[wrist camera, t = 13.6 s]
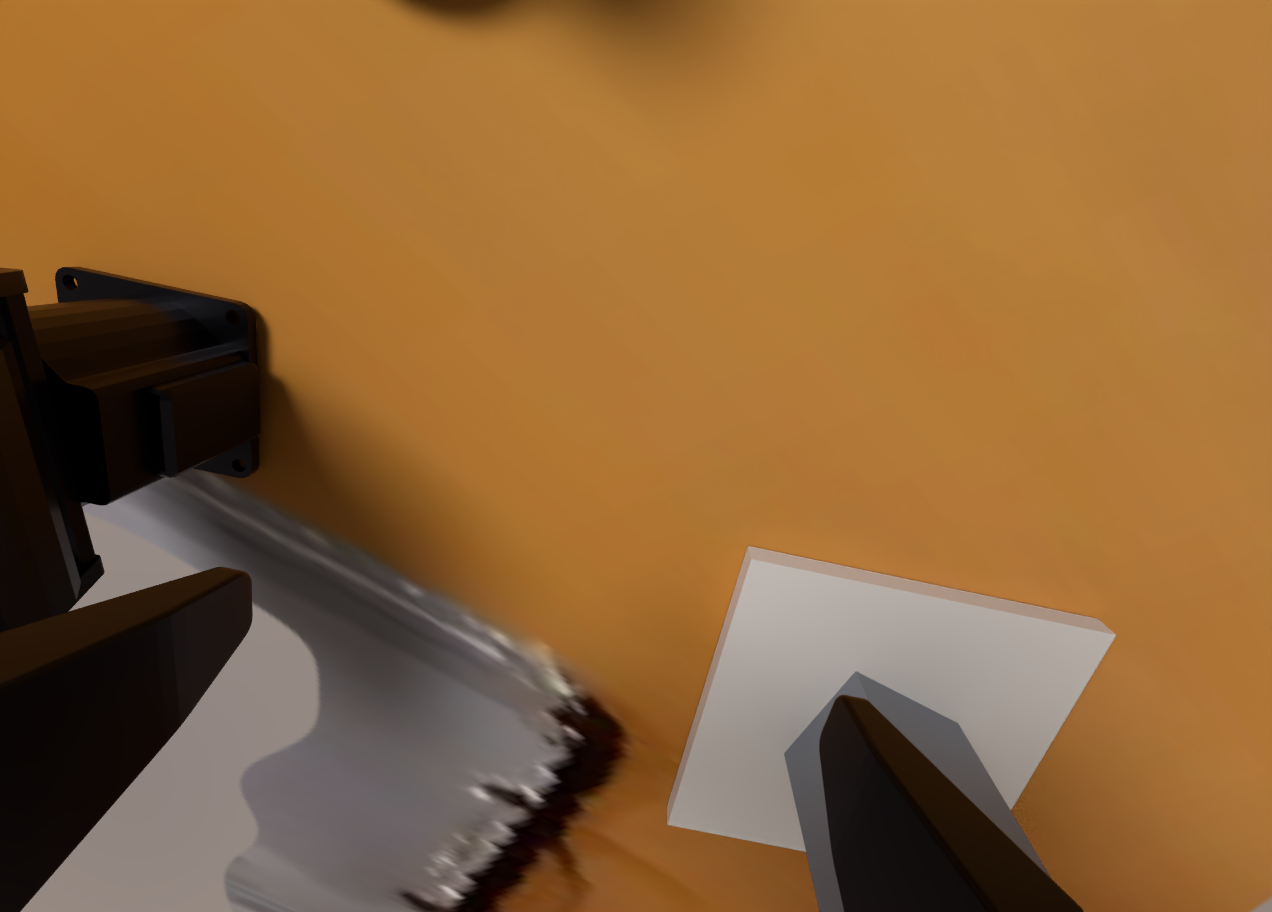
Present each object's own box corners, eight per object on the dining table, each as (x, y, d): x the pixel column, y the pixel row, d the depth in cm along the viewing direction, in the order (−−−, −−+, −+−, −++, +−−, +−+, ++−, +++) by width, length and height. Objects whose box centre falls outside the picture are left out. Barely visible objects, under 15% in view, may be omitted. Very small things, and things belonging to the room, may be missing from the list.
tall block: (783, 753, 25) (896, 1250, 13) (855, 670, 23) (1064, 1150, 11) (881, 800, 25) (1079, 1317, 13) (958, 723, 24) (1263, 1231, 12)
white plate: (667, 804, 28) (667, 824, 27) (747, 545, 23) (751, 559, 22) (956, 861, 28) (966, 883, 27) (1097, 618, 23) (1116, 635, 22)
